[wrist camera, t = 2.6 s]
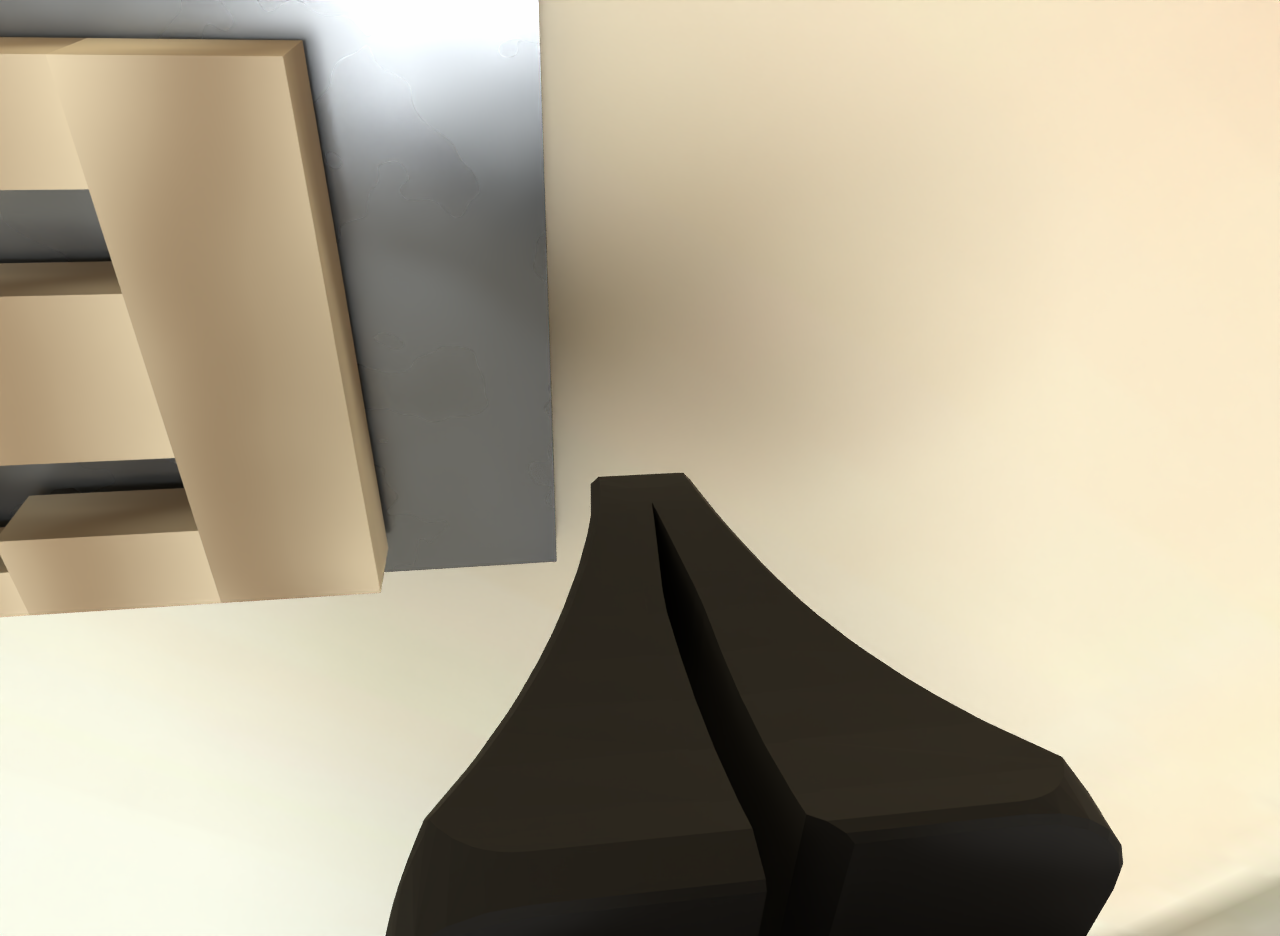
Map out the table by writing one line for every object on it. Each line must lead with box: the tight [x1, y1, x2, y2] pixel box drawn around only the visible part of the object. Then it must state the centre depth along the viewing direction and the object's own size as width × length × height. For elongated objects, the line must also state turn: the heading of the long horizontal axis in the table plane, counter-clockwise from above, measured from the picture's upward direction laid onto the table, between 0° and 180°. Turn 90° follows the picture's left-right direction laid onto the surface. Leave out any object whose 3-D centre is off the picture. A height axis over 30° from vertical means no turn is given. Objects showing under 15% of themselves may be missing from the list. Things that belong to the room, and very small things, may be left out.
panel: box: [0, 37, 388, 617], centre depth 16 cm, size 12×11×2 cm
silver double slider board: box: [0, 0, 557, 572], centre depth 16 cm, size 20×13×4 cm, turn 88°
